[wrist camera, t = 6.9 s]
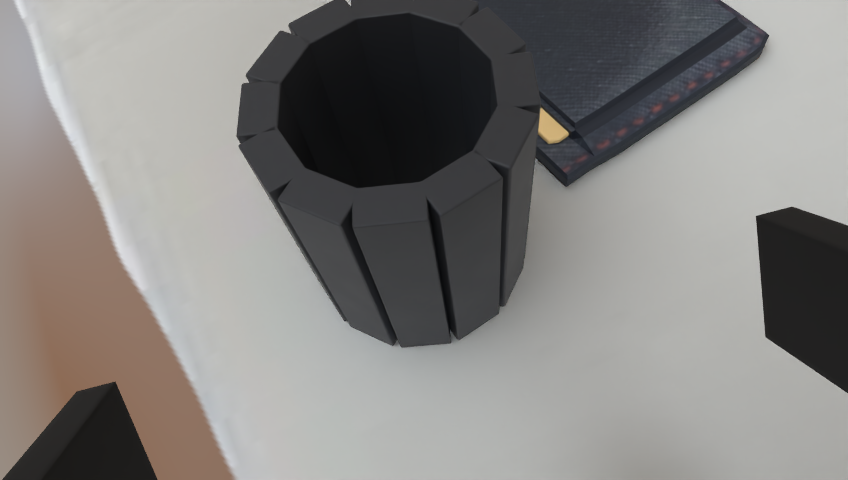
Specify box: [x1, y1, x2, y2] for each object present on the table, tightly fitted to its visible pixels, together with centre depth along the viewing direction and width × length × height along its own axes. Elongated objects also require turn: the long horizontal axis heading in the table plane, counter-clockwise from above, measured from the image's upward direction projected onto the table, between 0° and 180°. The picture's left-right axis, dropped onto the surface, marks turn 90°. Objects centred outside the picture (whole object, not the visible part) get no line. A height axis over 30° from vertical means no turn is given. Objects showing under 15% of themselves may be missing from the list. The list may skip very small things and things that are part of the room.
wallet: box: [473, 0, 769, 187], centre depth 37 cm, size 20×2×15 cm
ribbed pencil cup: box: [237, 0, 541, 347], centre depth 26 cm, size 10×10×12 cm
